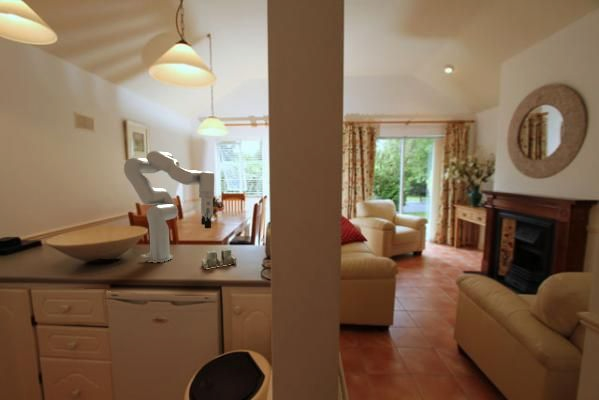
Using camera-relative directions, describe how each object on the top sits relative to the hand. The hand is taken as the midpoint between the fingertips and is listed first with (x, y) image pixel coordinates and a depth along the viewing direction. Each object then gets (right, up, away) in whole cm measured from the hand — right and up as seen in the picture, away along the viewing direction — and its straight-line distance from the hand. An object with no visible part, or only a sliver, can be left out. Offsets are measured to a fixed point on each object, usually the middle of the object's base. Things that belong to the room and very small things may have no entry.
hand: (206, 226), depth 132 cm
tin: (-59, -20, +8) cm, 62 cm away
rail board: (+7, -21, +1) cm, 22 cm away
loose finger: (+4, -20, -2) cm, 21 cm away
